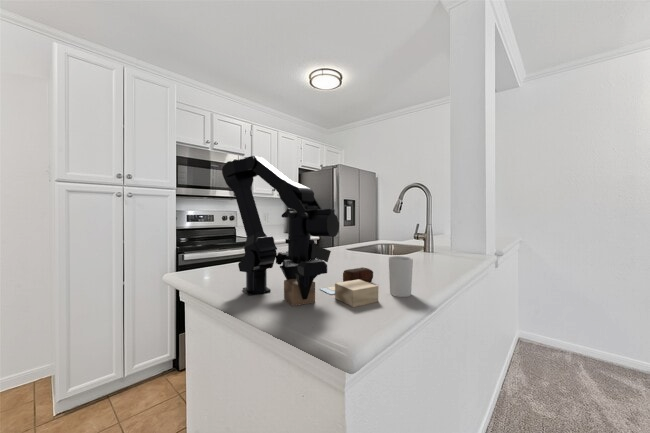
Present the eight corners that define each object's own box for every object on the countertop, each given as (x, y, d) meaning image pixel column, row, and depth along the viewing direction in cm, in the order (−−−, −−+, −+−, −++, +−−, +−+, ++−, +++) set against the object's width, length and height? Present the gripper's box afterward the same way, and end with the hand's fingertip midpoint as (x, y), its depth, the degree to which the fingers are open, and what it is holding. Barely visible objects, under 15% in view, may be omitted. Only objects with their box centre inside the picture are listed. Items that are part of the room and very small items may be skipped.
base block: (335, 298, 72) (335, 283, 72) (358, 293, 76) (358, 279, 76) (353, 307, 65) (353, 290, 65) (378, 301, 70) (378, 285, 69)
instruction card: (319, 289, 80) (319, 288, 80) (344, 285, 85) (344, 284, 85) (330, 294, 75) (330, 293, 75) (356, 290, 80) (356, 289, 80)
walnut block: (284, 299, 71) (284, 280, 71) (304, 295, 74) (304, 277, 74) (293, 306, 66) (293, 285, 66) (315, 301, 69) (315, 282, 69)
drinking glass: (397, 298, 72) (397, 260, 72) (383, 291, 78) (383, 256, 78) (418, 295, 74) (418, 259, 74) (403, 289, 81) (403, 255, 81)
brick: (352, 288, 81) (352, 272, 81) (342, 285, 84) (342, 270, 84) (373, 282, 89) (373, 268, 89) (363, 280, 92) (364, 266, 92)
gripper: (346, 236, 66) (345, 300, 66) (310, 232, 82) (310, 283, 82) (305, 239, 60) (304, 309, 61) (275, 233, 76) (275, 288, 77)
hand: (299, 295), depth 70 cm, fingers closed on walnut block, 6 cm apart
